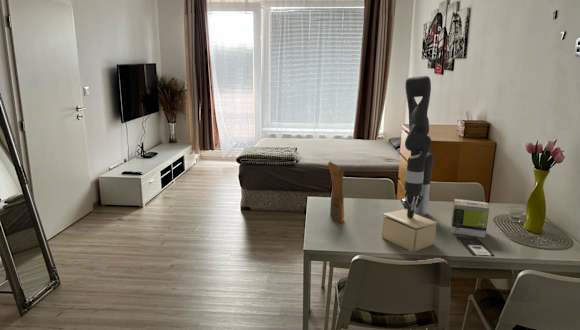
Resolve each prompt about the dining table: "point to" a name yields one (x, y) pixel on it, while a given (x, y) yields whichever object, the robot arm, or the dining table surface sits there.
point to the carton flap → (409, 219)
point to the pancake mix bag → (336, 193)
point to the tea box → (469, 218)
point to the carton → (408, 235)
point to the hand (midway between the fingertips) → (410, 217)
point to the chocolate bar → (475, 246)
